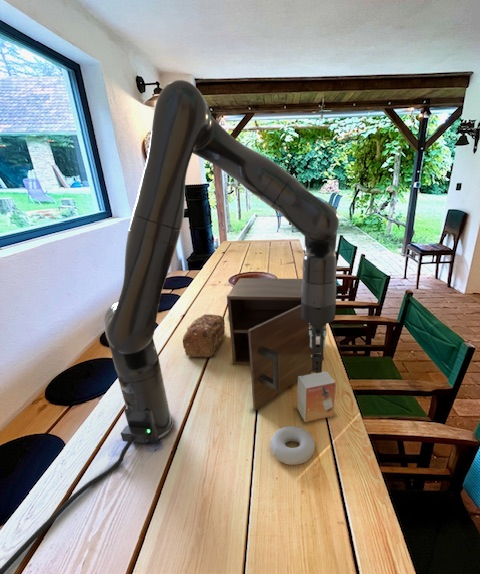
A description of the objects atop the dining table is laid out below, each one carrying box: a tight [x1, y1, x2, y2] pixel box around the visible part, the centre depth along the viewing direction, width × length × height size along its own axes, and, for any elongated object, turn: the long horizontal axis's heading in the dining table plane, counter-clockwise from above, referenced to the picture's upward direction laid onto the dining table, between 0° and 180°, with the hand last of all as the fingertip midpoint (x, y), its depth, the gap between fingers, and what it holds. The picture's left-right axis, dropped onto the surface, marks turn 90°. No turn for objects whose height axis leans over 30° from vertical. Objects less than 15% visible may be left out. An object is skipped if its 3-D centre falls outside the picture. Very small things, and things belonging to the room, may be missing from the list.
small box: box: [296, 370, 337, 423], centre depth 81 cm, size 8×6×10 cm
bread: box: [182, 313, 226, 359], centre depth 117 cm, size 19×11×10 cm, turn 172°
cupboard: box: [226, 277, 303, 366], centre depth 108 cm, size 18×26×24 cm
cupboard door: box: [248, 305, 312, 412], centre depth 87 cm, size 7×26×24 cm, turn 137°
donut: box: [269, 425, 316, 466], centre depth 72 cm, size 10×4×10 cm
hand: (316, 361), depth 77 cm, fingers open, 8 cm apart
